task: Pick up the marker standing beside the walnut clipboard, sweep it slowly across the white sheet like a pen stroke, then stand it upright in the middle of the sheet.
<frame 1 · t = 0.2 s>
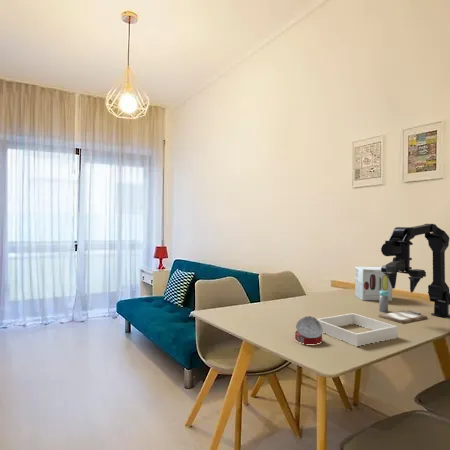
hand: (402, 290, 156), 14 cm above the table, fingers open, 9 cm apart
marker: (383, 311, 176), on the table
supplement box 2: (373, 298, 206), on the table
canned food: (308, 341, 132), on the table
clipboard: (402, 317, 165), on the table
lotus tray rim: (354, 333, 141), on the table
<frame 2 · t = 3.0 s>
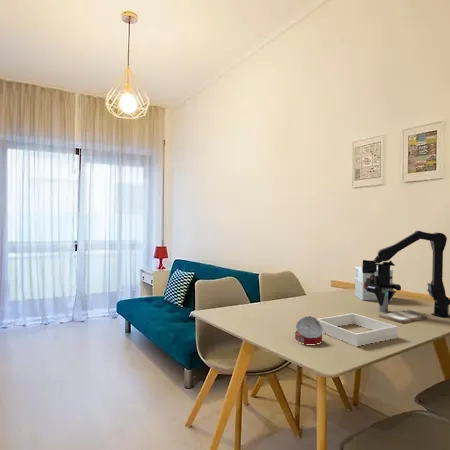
hand: (383, 305, 176), 3 cm above the table, fingers closed on marker, 4 cm apart
marker: (383, 311, 176), on the table, touching gripper
everything else where it was.
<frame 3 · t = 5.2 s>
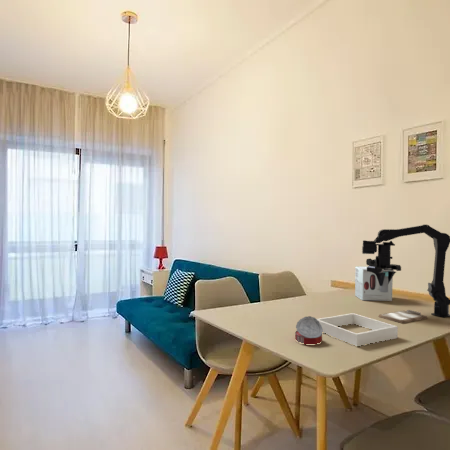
hand: (383, 285, 176), 13 cm above the table, fingers closed on marker, 4 cm apart
marker: (383, 291, 176), point 10 cm above the table, touching gripper
everything else where it was.
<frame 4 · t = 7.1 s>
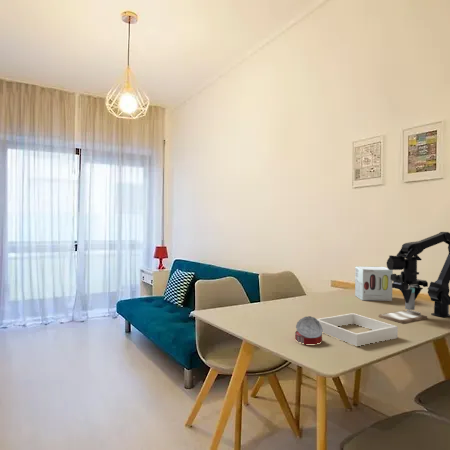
hand: (409, 302, 167), 7 cm above the table, fingers closed on marker, 4 cm apart
marker: (409, 308, 167), point 4 cm above the table, touching gripper
everything else where it was.
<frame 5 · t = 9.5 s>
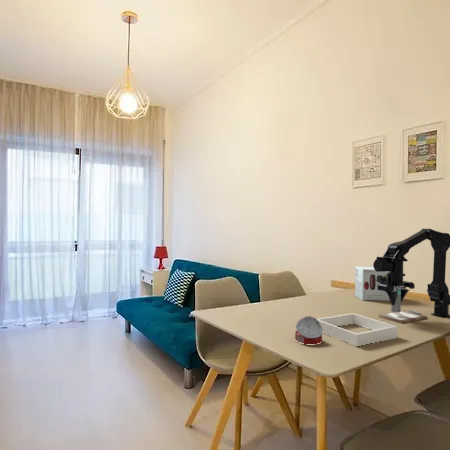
hand: (396, 304, 163), 7 cm above the table, fingers closed on marker, 4 cm apart
marker: (395, 311, 163), point 4 cm above the table, touching gripper
everything else where it was.
when the fingers open (5 cm above the table, at t = 11.5 s): marker drops 1 cm, resting on clipboard.
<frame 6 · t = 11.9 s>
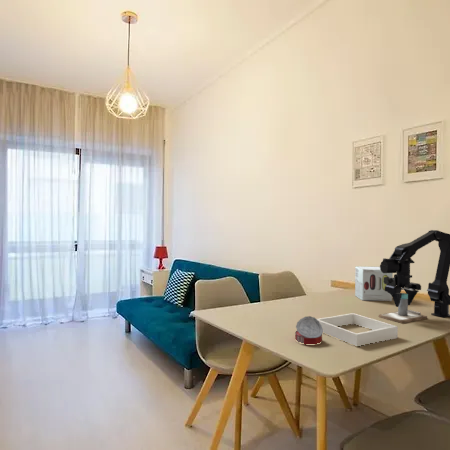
hand: (402, 305, 165), 5 cm above the table, fingers open, 8 cm apart
marker: (402, 314, 165), point 1 cm above the table, touching clipboard
everything else where it was.
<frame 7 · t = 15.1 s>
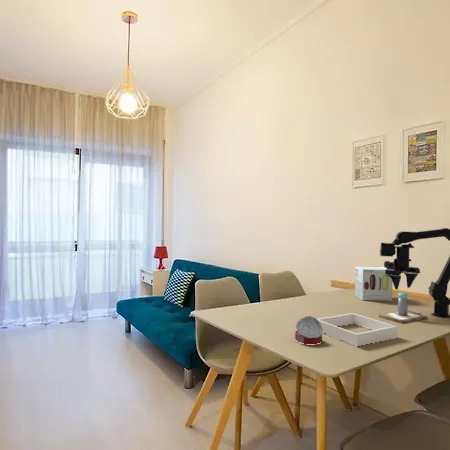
hand: (402, 288, 174), 12 cm above the table, fingers open, 9 cm apart
nothing on the table moved.
at the end: marker inside the target area on the clipboard (0.0 cm from its centre), point 1.2 cm above the clipboard's base; marker tilted 1°; the gripper is holding nothing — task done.
